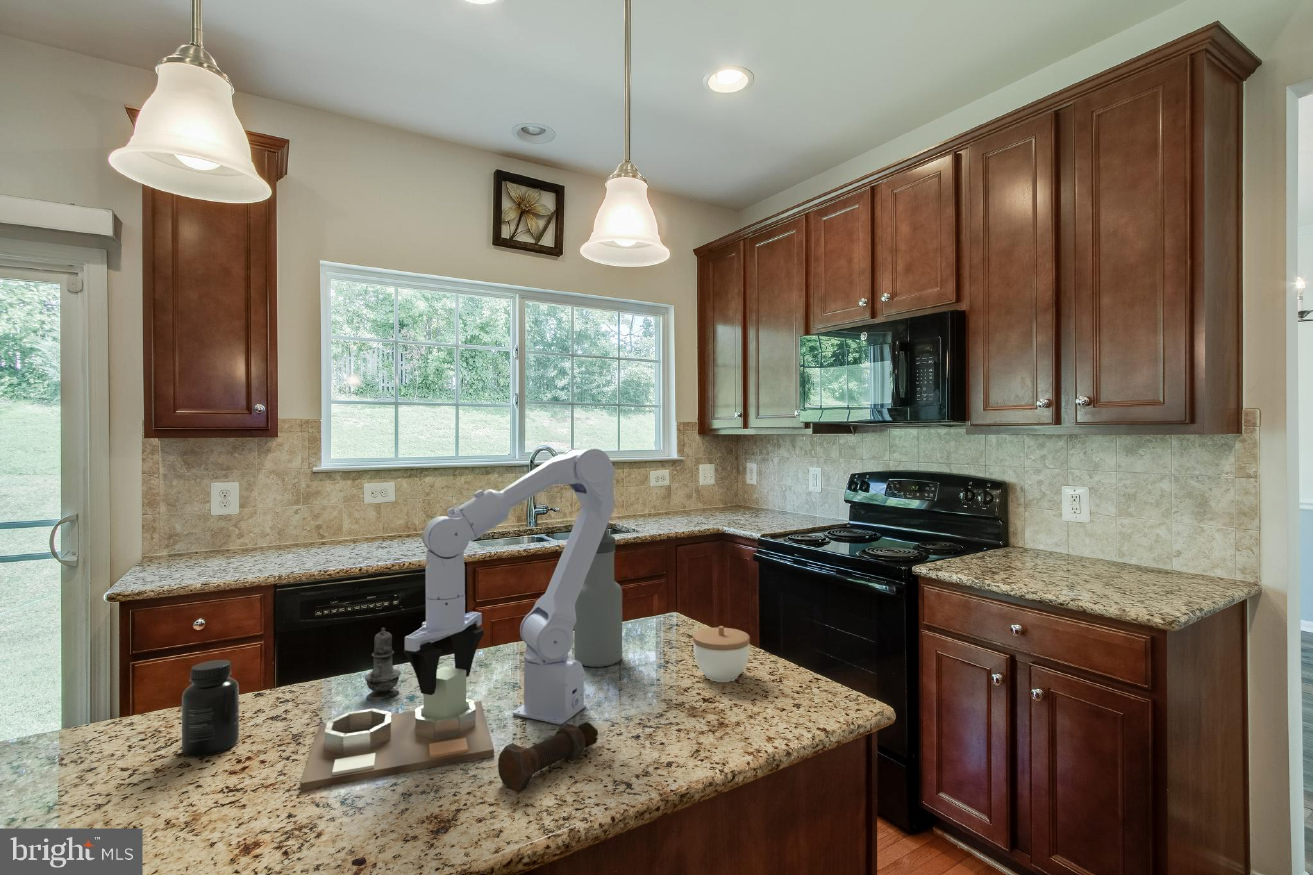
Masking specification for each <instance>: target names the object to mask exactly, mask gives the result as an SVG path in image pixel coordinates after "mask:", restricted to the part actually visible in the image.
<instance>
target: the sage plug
mask: <svg viewBox="0 0 1313 875" xmlns="http://www.w3.org/2000/svg"><path fill="white" fill-rule="evenodd" d="M466 699H467V677H466V670H462V669H456V668H455V667H450V666H441V667H440V668H437V675H436V689H435V693H434V694H432V695H427V694H423V705H424V708H423V717H426V718H430V719H435V720H439V719H445V718H452V717H457V716H459V715H461V714H462V713H464V712H466Z"/></svg>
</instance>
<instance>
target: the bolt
mask: <svg viewBox="0 0 1313 875" xmlns="http://www.w3.org/2000/svg"><path fill="white" fill-rule="evenodd" d="M598 735H599V730H598V729H597V728H596V727H595V726H594V725H593V724H592V723H591V722H589V721H584V722H583V723H581V724H579V725H575V724H572V723H563V724H561V725H560V726H559V728H558V729H557V731H556V733H555V735H553V736H551V737H549V738H546V739H545V740H542V741H540V742H539V743H536V744H534V745H531V746H529V747H522V746H520V745H518V744H515V743H514V742H512V743H509V744H507V745H505V746H504V747H503V749H502V751H500V753H499V756H498V760H497V761H498V762H497V769H498V770H497V771H498V776H499V778H500V780H501V782H502V783H503V785H504V787H505V788H506V789H508V790H510V791H512V792H516V793H517V792H518V793H520V792H522V791H525V790H526V789H527V788H528V787H529V784H530V783H531V781H532V778H533V776H534V775H535V774H536V773H539V771H542V770H544V769H546V768H547V767H549V766H552V765H554V764H556V763H558V762H561V761H562V760H564V761H568V762H574V761H577V760H578V759H580V758H581V757H582V755H583V753H584V751H585V749H587V748H589V747H591V746H593V745H595V744H596V743H597V742H598V740H599V738H598V737H599V736H598Z"/></svg>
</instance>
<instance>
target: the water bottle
mask: <svg viewBox="0 0 1313 875" xmlns="http://www.w3.org/2000/svg"><path fill="white" fill-rule="evenodd" d="M607 530H609V524H608V525H607V527H606V529H605V532H604V534H603V537H602V539H601V542H600V544H599V547H598V549H597V551H596V554H595V556H594V559H593V561H592V564H591V566H590V569H589V571H588V574H587V576H586V578H585V581H584V583H583V586H582V588H581V591H580V593H579V596H578V598H577V601H576V603H575V612H576V623H575V626H574V629H573V645H574V647H573V648H574V649H573V650H574V651H573V652H574V658H573V659H574V660H577V661H579V662H581V664H582V666H583V665H584V666H583V667H587V666H589V668H604V666H606V667H609V665H610V666H613V665H616V664H617V663H619V662H620V661H621V660H622V658H623V590H622V587H621V585H620V584H619V583H618V582H617V581H616V580H615V553H616V537H615V536H613V535H612V534H607V533H608V532H607ZM615 663H616V664H615Z"/></svg>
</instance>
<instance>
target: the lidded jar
mask: <svg viewBox="0 0 1313 875" xmlns="http://www.w3.org/2000/svg"><path fill="white" fill-rule="evenodd" d="M692 642H693V654H694V659H695V663H696V665H697V668H698V669H699V671H700V672H701V673H702V674H703V675H705V676H706V677H705V676H704V677H705V678H706V679H707V680H708V679H710V680H709V681H711V682H714V681H716V682H715V683H731V682H730V681H732V682H734V681H736V680H737V679H738V678H739V676H740V675H741V674H742V673H743V672H744V671H745V669H746V668H747V665H748V660H749V658H750V657H749V655H750V642H751V637H750V634H748V633H747V632H745V631H742V630H741V629H736V628H731V627H730V628H729V627H725V626H723V625H719V626H718V627H709V628H708V627H707V628H702V629H699V630H697V631H695V632H694V633H693V635H692ZM735 679H736V680H735Z"/></svg>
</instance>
